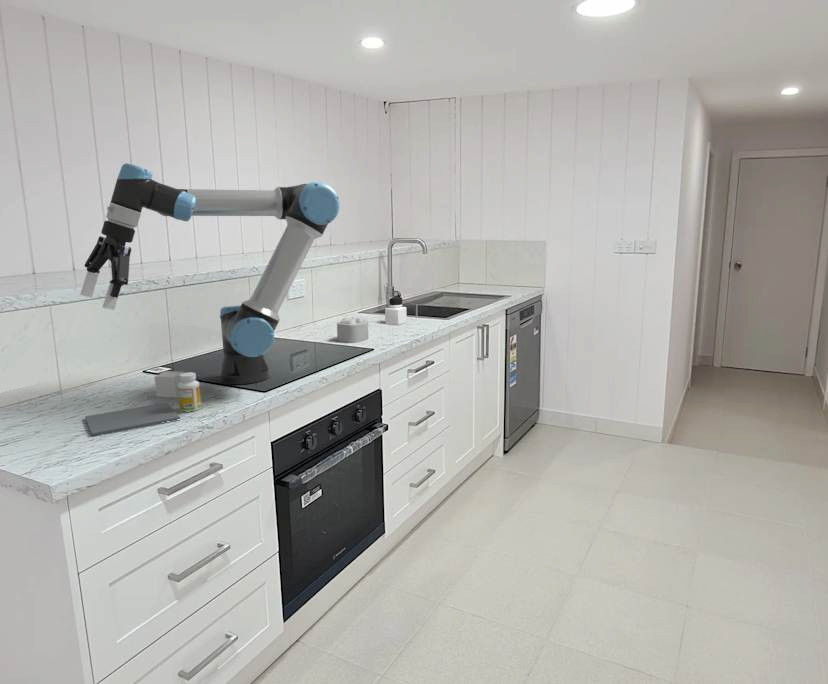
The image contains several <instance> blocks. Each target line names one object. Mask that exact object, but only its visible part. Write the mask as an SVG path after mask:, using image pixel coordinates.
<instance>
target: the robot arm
mask: <svg viewBox="0 0 828 684" xmlns="http://www.w3.org/2000/svg"><path fill="white" fill-rule="evenodd" d="M143 208H145V209H146V210H150V211H153V212H156V213H158V214H160V215H161V216H163V217H170V218H173V219H174V220H178V221H183V222H189V221H190V220H191V218H192V216H193V217H222V216H223V217H275V218H276V220H285V221H286V223H287V225H286V228H285V229H284V232H283V233H282V235H281V237H280V239H279V241H278V243H277V245H276V247H275V249H274V251H273V253H272V255H271V257H270V260H269V261H268V263H267V265H266V267H265V269H264V271H263V273H262V275H261V277H260V279H259V280H258V283H257V285H256V287H255V289H254V291H253V293H252V295H251V297H250V299H247V300H244V301H242V303H241V304H240V305H229V306H223V307H221V309H220V310H219V311H220V314H219V319H220V325H221V327H220V328H221V340H222V349H223V357H222V361H221V364H220V365H221V366H220V368H219V374H218V375H219V381H220V383H224V384H229V385H245V384H246V385H247V384H252V383H253V384H254V383H258V382H263V381H265V380H267V379H269V378H270V368H269V365H268V363H267V361H266V359H265V356H264V354H266V353H267V352H268V351H269V350H270V349H271V347H272V346H273V344H274V340H275V330H276V329H277V326H278V324H279V323H280V316H279V311H280V308H281V307H282V305H283V303H284V301H285V299H286V297H287V294H288V292H289V290H290V289H291V286H292V284H293V283H294V281H295V279H296V277H297V275H298V273H299V271H300V269H301V267H302V265H303V262H304V261H305V258H306V257H307V255H308V253H309V251H310V249H311V247H312V245H313V243H314V241H315V240H316V239H318V238H322V237H323V234H324V233H325V231H326V229H327V227H328V225H329V224H330V223H332V222H333V221H334V220H335V219H336V218H337V216H338V214H339V212H340V200H339V196H338V194H337V192H336V191H335V189H334V188H333V187H331V186H330V185H328V184H326V183H323V182H319V181H312V182H309V183H303V184H298V185H294V186H293V185H292V186H277V187H275V189H274V190H271V189H270V190H269V189H268V190H266V189H265V190H263V189H259V190H258V189H257V190H256V189H254V190H253V189H209V188H208V189H205V188H203V189H202V188H201V189H200V188H196V189H194V188H193V189H192V188H188V189H187V188H175V187H172V186H170V185H167V184H163V183H160V182H158V181H156V180H154V179H153V172H152V171H151V170H149V169H146V168H143V167H142V166H138V165H135V164H132V163H127V162H125V163H124V164H122V165H121V167H120V171H119V172H118V175H117V179H116V182H115V184H114V189H113V192H112V195H111V200H110V203H109V206H107V208H106V210H107V213H106V216H105V218H106V219H107V220H105V221H104V222H103V224H102V228H101V231H100V233H101V234H102V235H103V236H98V239H97V242H96V244H95V246H94V247H93V249H92V251H91V252H90V254H89V257H88V258H87V260H86V261H85V263H84V267H85V268H86V271H87V272H86V273H85V278H84V281H83V284H82V288H81V291H80V296H83V297H88V298H93V294H94V291H95V288H96V284H97V283H98V279H99V274H100V272H101V271H100V269H102V268H103V266H104V265H105V264H106V263H107V262H108V261H110V266H111V267H110V268H111V280H110V281H109V285H108V288H107V291H106V294H105V299H104V300H103V305H102V308H104V309H107V310H113V311H115V308H116V305H117V303H118V299H119V296H120V292H121V289H122V287H123V286H124V285H125V286H127V285H128V284H129V273H130V261H131V260H130V259H131V253H132V247H129V246H126V243H127V244H128V243H129V244H130V243H132V242H133V240H134V237H135V233H136V231H135V228H137V227H138V225H139V224H138V223H139V221H140V218H141V214H142V210H143ZM104 236H106V237H104Z"/></svg>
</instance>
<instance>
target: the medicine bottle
mask: <svg viewBox="0 0 828 684" xmlns="http://www.w3.org/2000/svg"><path fill="white" fill-rule="evenodd" d="M388 306H389V307H385V309H384V322H385V325H394V326H400V325H403V324H406V323H408V322H407V318H408V317H407V316H408V315H407V314H408V313H407V307H406V306H403V297H402V296H391V297H389V298H388Z"/></svg>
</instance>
